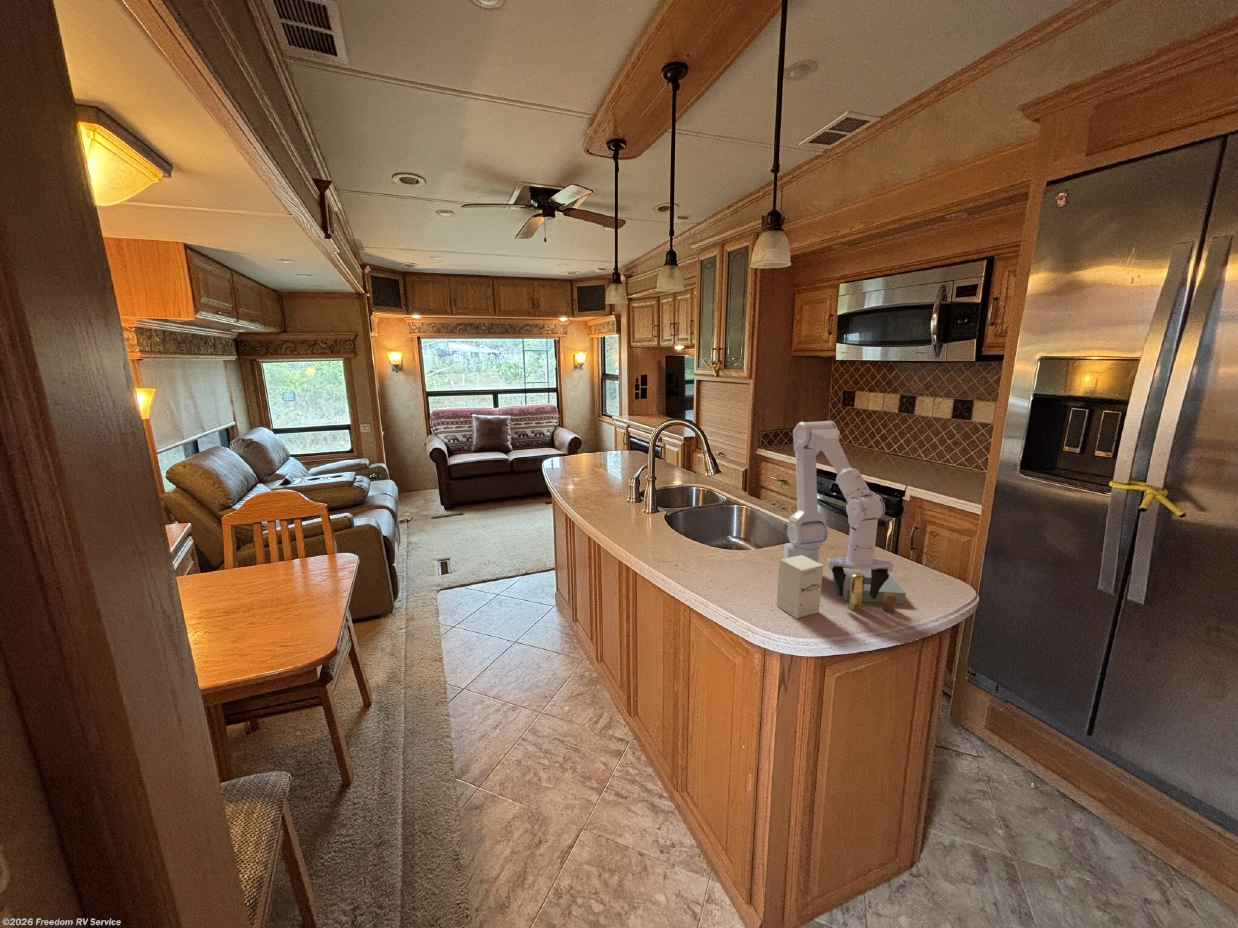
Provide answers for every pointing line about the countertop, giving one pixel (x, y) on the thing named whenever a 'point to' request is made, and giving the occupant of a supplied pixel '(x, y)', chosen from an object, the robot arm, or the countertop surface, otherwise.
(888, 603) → the short pin
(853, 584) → the long pin
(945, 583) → the countertop surface
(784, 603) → the supplement box
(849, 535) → the robot arm
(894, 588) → the hole plate
